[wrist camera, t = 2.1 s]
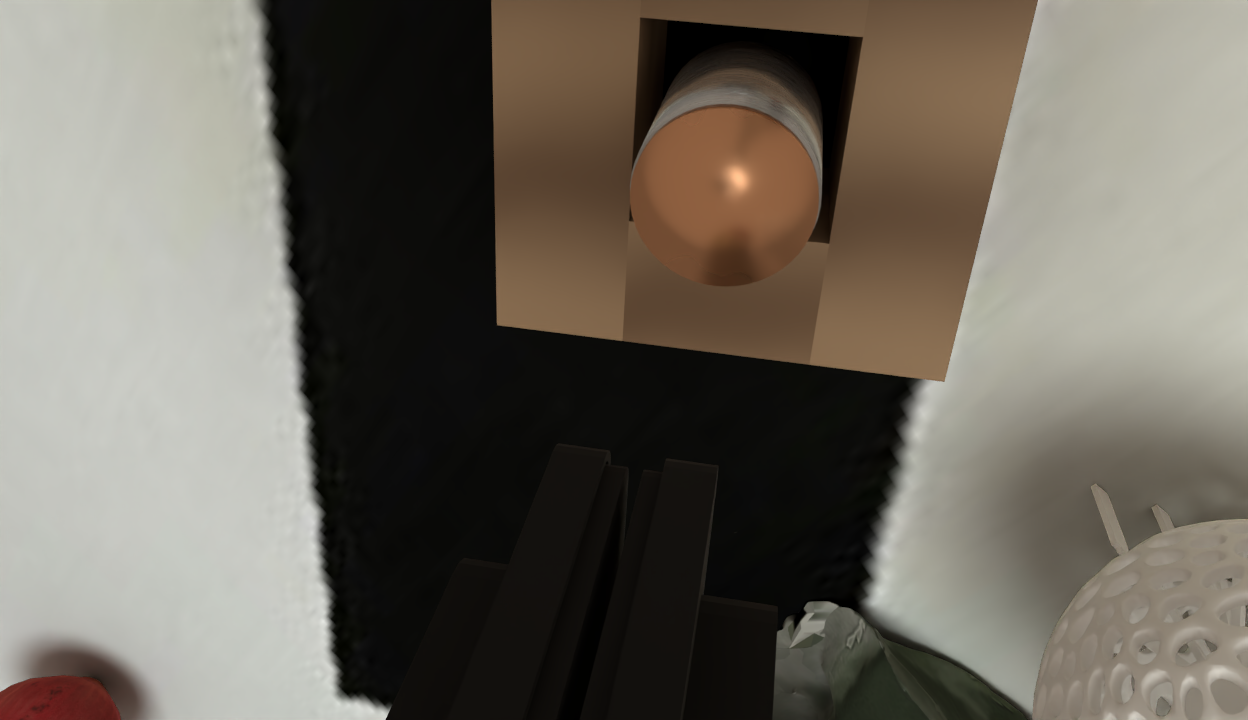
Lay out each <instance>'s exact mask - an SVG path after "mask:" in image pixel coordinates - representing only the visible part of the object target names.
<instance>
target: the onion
mask: <svg viewBox="0 0 1248 720" xmlns="http://www.w3.org/2000/svg"><path fill="white" fill-rule="evenodd" d="M0 720H121V718H120V713H119V711H118V709H117V707H116V705H115V704H114V702H113V700H112V698H111V697H110V695H109V694H108V692H107V691H106V689H105V688H104V686H103V685H102V683H101V682H100V681H98V680H97V679H94V678H91V677H76V676H66V675H61V676H51V677H42V678H33V679H28V680H25V681H23V682H20V683H17V684H14V685H11V686H10V687H8V688H6V689H5V690H3V691H1V692H0Z"/></svg>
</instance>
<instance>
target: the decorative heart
mask: <svg viewBox="0 0 1248 720" xmlns="http://www.w3.org/2000/svg"><path fill="white" fill-rule="evenodd" d="M1091 490H1092V492H1093V495H1094V498H1095V501H1096V504H1097V507H1098V509H1099V512H1100V515H1101V518H1102V521H1103V523H1104V526H1105V529H1106V532H1107V535H1108V537H1109V540H1110V543H1111V546H1113V547H1114V548H1115V549H1116V551H1117V553H1118V554H1119V555H1120V556H1118V557H1116V558H1114V559H1113V560H1112V561H1110V562H1109V563H1108V564H1107V565H1106V566H1105V567H1104V568H1103V569H1101V570H1100V571H1099V572H1098V573H1097V574H1096V575H1095V576H1094V577H1093V578H1092V579H1090V580H1089V581H1088V582H1087V583H1086V584H1085V585H1084V586H1083V587H1082V588H1081V589H1080V590H1079V591H1078V593H1077V594H1076V596H1075V597H1074V598H1073V600H1072V601H1071V603H1070V604H1069V605H1068V607H1067V608H1066V610H1065V611H1064V612H1063V614H1062V615H1061V617H1060V619H1059V621H1058V623H1057V624H1056V626H1055V628H1054V630H1053V632H1052V634H1051V637H1050V640H1049V642H1048V644H1047V646H1046V649H1045V652H1044V655H1043V658H1042V662H1041V665H1040V670H1039V674H1038V679H1037V684H1036V688H1035V693H1034V702H1033V713H1032V720H1248V627H1245V614H1246V606H1247V605H1248V519H1230V520H1217V521H1210V522H1202V523H1196V524H1191V525H1186V526H1181V527H1177V528H1174V526H1173V523H1172V521H1171V519H1170V517H1169V514H1167V513H1166V512H1165V511H1164V510H1163V509H1161V508H1160V507H1159V506H1158V505H1157V504H1156V505H1155V506H1153V507H1151V508H1152V510H1153V513H1154V515H1155V517H1156V520H1157V522H1158V524H1159V527H1160V529H1161V531H1162V532H1161V533H1159V534H1156V535H1154V536H1152V537H1150V538H1148V539H1146V540H1145V541H1143V542H1141V543H1140V544H1138V545H1137V546H1135V547H1134V548H1132V549H1131V550H1130V551H1129V549H1128V546H1127V544H1126V541H1125V538H1124V536H1123V533H1122V530H1121V528H1120V525H1119V522H1118V520H1117V517H1116V514H1115V512H1114V509H1113V506H1112V504H1111V501H1110V498H1109V496H1108V494H1107V493H1106V492H1105V491H1104V490H1103V489H1101V488H1100V487H1099V486H1098V485H1097V484H1094V485H1093V486H1091ZM1228 578H1232V582H1230V581H1228V580H1227V579H1228ZM1186 611H1187V612H1188V615H1189V617H1187V618H1185V619H1183V617H1182V615H1183V614H1184V613H1185V612H1186ZM1205 640H1207V641H1210V642H1212V643H1213V644H1214V645H1216V647H1217V650H1215V651H1213V652H1211V651H1210V649H1209V648H1208V646H1207V644H1206V642H1205ZM1186 643H1187V645H1188V649H1187V650H1186V651H1185V652H1184V653H1179V652H1178V651H1179V649H1180V648H1181V647H1182V646H1183V645H1184V644H1186ZM1143 645H1144V646H1145V647H1147V648H1146V649H1144V650H1141V651H1139V650H1140V649H1141V647H1142V646H1143ZM1114 653H1116V654H1117V655H1116V656H1115V657H1114V658H1113V654H1114ZM1132 676H1133V678H1134V686H1135V687H1134V692H1133V689H1132V685H1131V679H1132ZM1160 697H1162V698H1164V699H1165V700H1166V701H1167V702H1168V704H1169V705H1170V707H1171V709H1170V711H1169V713H1168V714H1167V715H1166V716H1163V717H1161V716H1158V715H1157V714H1156V706H1157V702H1158V699H1159V698H1160Z"/></svg>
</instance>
